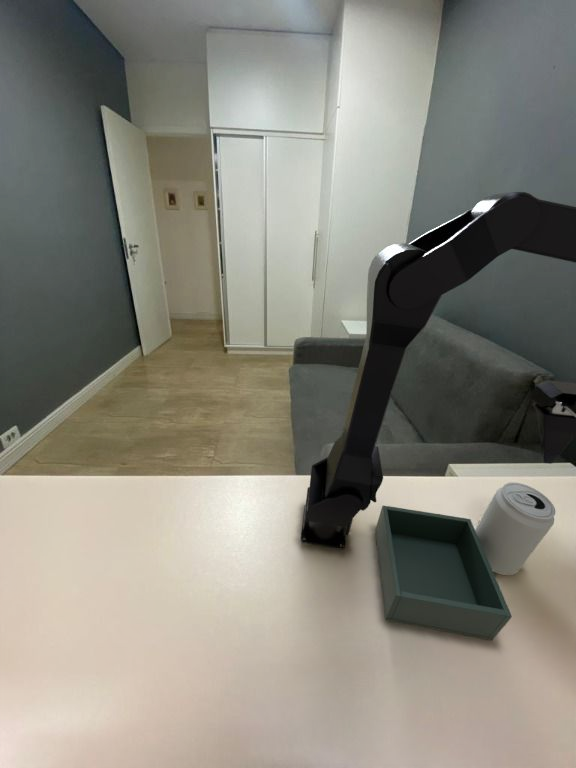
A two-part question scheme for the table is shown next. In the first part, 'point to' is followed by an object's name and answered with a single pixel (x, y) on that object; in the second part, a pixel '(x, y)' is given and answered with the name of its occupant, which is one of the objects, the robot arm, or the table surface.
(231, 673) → the table surface
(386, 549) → the shallow open box
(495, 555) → the beverage can
